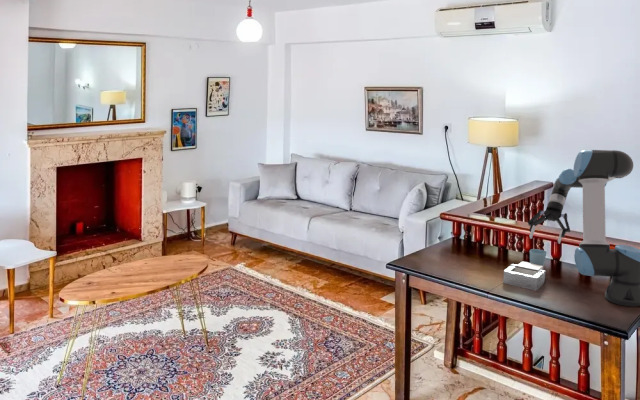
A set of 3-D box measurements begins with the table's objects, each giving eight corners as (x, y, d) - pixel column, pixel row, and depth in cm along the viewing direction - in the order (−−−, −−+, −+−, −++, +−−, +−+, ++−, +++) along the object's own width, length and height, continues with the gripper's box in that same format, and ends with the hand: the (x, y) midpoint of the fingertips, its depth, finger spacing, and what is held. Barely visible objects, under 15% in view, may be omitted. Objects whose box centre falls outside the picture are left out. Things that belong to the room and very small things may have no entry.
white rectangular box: (511, 275, 266) (512, 263, 265) (544, 282, 257) (545, 270, 256) (503, 283, 257) (503, 270, 255) (536, 290, 248) (537, 277, 246)
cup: (548, 273, 269) (550, 252, 267) (536, 275, 266) (538, 254, 264) (536, 268, 276) (538, 248, 274) (524, 270, 273) (526, 250, 271)
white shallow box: (516, 270, 270) (517, 259, 269) (547, 276, 261) (548, 265, 260) (509, 276, 262) (510, 265, 260) (540, 283, 253) (541, 271, 252)
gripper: (582, 212, 279) (571, 248, 271) (532, 205, 294) (520, 239, 286) (581, 204, 274) (570, 240, 266) (529, 197, 289) (517, 231, 281)
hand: (544, 239), depth 276 cm, fingers open, 13 cm apart
